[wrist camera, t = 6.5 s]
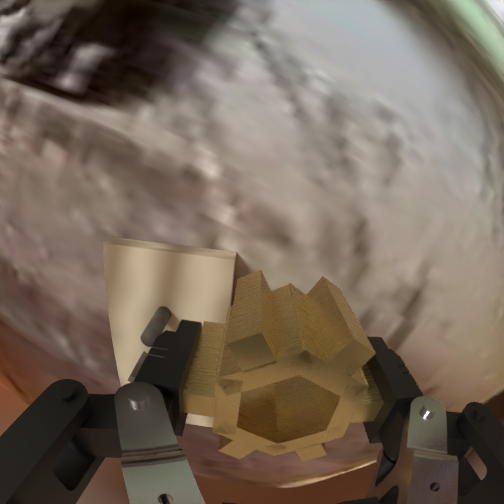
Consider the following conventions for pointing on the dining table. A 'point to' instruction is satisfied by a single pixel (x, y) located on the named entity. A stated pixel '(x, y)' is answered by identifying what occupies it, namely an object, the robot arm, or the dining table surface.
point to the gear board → (162, 296)
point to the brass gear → (282, 370)
